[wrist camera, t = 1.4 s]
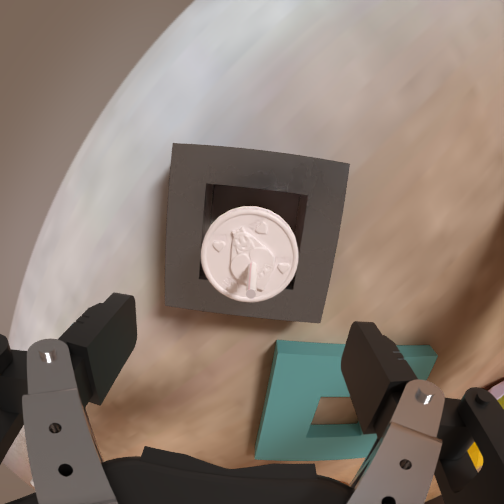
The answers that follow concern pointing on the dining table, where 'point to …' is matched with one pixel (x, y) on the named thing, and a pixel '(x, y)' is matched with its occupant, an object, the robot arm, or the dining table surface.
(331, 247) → the tall socket
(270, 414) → the low socket
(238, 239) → the smoothie
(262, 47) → the dining table surface
